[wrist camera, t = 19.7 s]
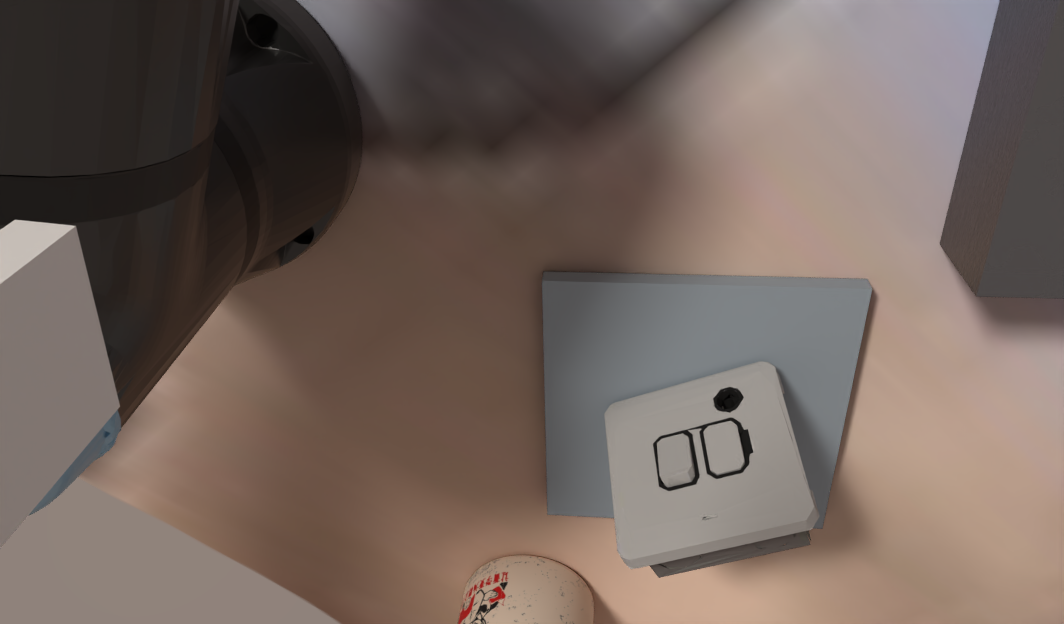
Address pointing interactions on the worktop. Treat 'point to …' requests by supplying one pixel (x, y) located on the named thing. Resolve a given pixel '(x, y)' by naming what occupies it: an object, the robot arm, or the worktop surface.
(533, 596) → the teacup with lid
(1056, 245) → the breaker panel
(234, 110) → the robot arm
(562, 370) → the pad
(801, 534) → the electrical switch
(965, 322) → the worktop surface
